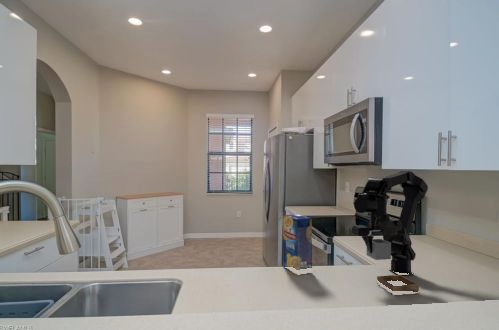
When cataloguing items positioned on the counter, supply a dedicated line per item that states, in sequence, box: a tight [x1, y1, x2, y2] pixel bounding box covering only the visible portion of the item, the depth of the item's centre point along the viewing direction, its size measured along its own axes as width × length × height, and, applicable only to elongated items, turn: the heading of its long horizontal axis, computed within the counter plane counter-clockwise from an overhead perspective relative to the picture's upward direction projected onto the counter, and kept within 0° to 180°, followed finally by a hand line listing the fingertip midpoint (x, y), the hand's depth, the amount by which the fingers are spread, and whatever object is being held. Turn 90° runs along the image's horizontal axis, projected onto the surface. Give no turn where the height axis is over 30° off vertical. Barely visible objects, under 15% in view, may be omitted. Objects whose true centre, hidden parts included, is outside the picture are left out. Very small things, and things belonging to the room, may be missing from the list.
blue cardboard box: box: [282, 213, 313, 270], centre depth 119 cm, size 7×11×22 cm, turn 23°
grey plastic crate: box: [366, 238, 392, 261], centre depth 108 cm, size 6×6×6 cm
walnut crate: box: [376, 274, 420, 292], centre depth 100 cm, size 9×9×3 cm
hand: (378, 252), depth 108 cm, fingers closed on grey plastic crate, 6 cm apart
